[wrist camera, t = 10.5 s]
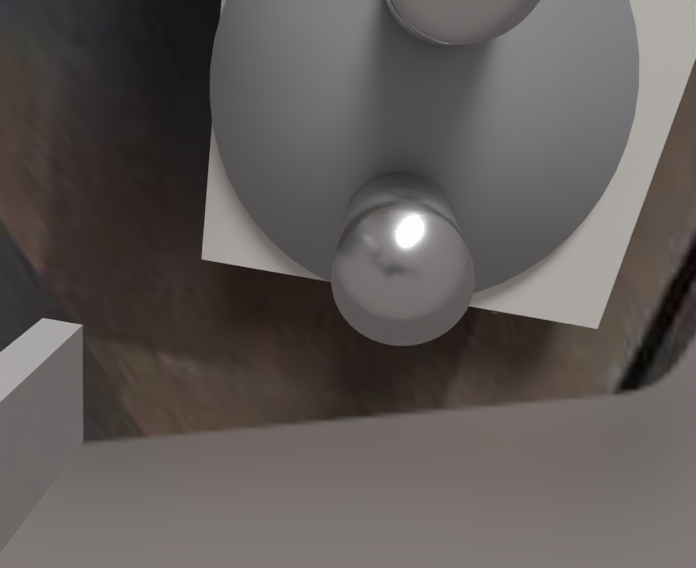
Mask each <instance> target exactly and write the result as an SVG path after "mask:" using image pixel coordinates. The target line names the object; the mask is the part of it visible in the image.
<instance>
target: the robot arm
mask: <svg viewBox="0 0 696 568" xmlns="http://www.w3.org/2000/svg"><path fill="white" fill-rule="evenodd" d="M82 443H83V325H80V324H74V323H68V322H62V321H56V320H50V319H45V318H42V319H41V320H40V321H39V322H37V323H36V324H35V325H34V326H33V327H31V328H30V329H29V330H28V331H26V332H25V333H24V334H23V335H21V336H20V337H19V338H18V339H16V340H15V341H14V342H13V343H11V344H10V345H9V346H8V347H6V348H5V349H4V350H3V351H2V352H0V552H1V551H2V549H3V548H4V547H5V545H6V544H7V543H8V541H9V540H10V539H11V537H12V536H13V535H14V533H15V532H16V531H17V529H18V528H19V527H20V525H21V524H22V523H23V521H24V520H25V519H26V517H27V516H28V515H29V513H30V512H31V511H32V509H33V508H34V507H35V505H36V504H37V503H38V501H39V500H40V499H41V497H42V496H43V495H44V493H45V492H46V491H47V489H48V488H49V487H50V485H51V484H52V483H53V481H54V480H55V479H56V477H57V476H58V475H59V473H60V472H61V471H62V469H63V468H64V467H65V466H66V464H67V463H68V462H69V460H70V459H71V458H72V456H73V455H74V454H75V452H76V451H77V449H78V448H79V447H80V446H81V444H82Z"/></svg>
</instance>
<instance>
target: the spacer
mask: <svg viewBox="0 0 696 568" xmlns="http://www.w3.org/2000/svg"><path fill="white" fill-rule="evenodd" d="M331 285H332V292H333V297H334V300H335V302H336V305H337V307H338V309H339V311H340V313H341V314H342V316H343V317H344V319H345V320H346V321H347V322H348V323H349V324H350V325H351V326H352V327H353V328H354V329H355V330H357V331H358V332H359V333H361V334H362V335H364V336H366V337H368V338H370V339H372V340H374V341H377V342H380V343H383V344H388V345H395V346H410V345H417V344H421V343H425V342H428V341H431V340H433V339H435V338H437V337H439V336H441V335H443V334H444V333H446V332H447V331H449V330H450V329H451V328H452V327H453V326H454V325H455V324H456V323H457V322H458V321H459V320H460V319H461V318H462V316H463V315H464V313H465V312H466V310H467V308H468V306H469V304H470V302H471V299H472V296H473V292H474V287H475V270H474V265H473V261H472V258H471V255H470V253H469V250H468V248H467V245H466V243H465V241H464V238H463V236H462V233H461V231H460V229H459V226H458V224H457V221H456V219H455V217H454V214H453V212H452V209H451V207H450V205H449V202H448V200H447V198H446V197H445V195H444V194H443V192H442V191H441V190H440V189H439V188H438V187H437V186H436V185H435V184H434V183H432V182H431V181H430V180H428V179H426V178H424V177H422V176H420V175H417V174H414V173H410V172H389V173H385V174H381V175H379V176H376V177H374V178H372V179H370V180H369V181H367V182H366V183H365V184H363V185H362V186H361V187H360V188H359V189H358V190H357V191H356V192H355V194H354V195H353V196H352V198H351V200H350V202H349V203H348V206H347V209H346V212H345V216H344V220H343V225H342V229H341V233H340V238H339V242H338V246H337V251H336V255H335V259H334V263H333V268H332V275H331Z"/></svg>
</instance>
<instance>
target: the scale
mask: <svg viewBox="0 0 696 568" xmlns="http://www.w3.org/2000/svg"><path fill="white" fill-rule="evenodd" d="M695 59H696V0H540V2H539V3H538V4H537V5H536V7H535V8H534V9H533V11H532V12H531V13H530V14H529V15H528V16H527V17H526V18H525V19H524V20H523V21H522V22H521V23H519V24H518V25H517V26H516V27H514V28H513V29H511V30H510V31H508V32H507V33H505V34H503V35H501V36H499V37H497V38H495V39H492V40H489V41H486V42H482V43H476V44H467V45H433V44H428V43H424V42H422V41H420V40H417V39H415V38H414V37H412V36H410V35H409V34H408V33H406V32H405V31H404V30H403V29H402V28H401V27H400V26H399V25H398V24H397V22H396V21H395V20H394V18H393V17H392V15H391V13H390V11H389V9H388V6H387V4H386V1H385V0H222V1H221V14H220V20H219V24H218V28H217V31H216V35H215V39H214V45H213V52H212V59H211V66H210V105H211V114H212V130H211V143H210V156H209V169H208V182H207V195H206V208H205V221H204V234H203V247H202V259H203V260H209V261H214V262H220V263H226V264H231V265H237V266H243V267H249V268H254V269H260V270H266V271H271V272H277V273H283V274H288V275H294V276H300V277H306V278H311V279H317V280H323V281H328V282H330V283H331V275H332V268H333V263H334V259H335V255H336V251H337V246H338V242H339V238H340V233H341V229H342V225H343V220H344V216H345V212H346V209H347V206H348V203H349V202H350V200H351V198H352V196H353V195H354V194H355V192H356V191H357V190H358V189H359V188H360V187H361V186H362V185H363V184H365V183H366V182H367V181H369V180H370V179H372V178H374V177H376V176H379V175H381V174H385V173H389V172H410V173H414V174H417V175H420V176H422V177H424V178H426V179H428V180H430V181H431V182H432V183H434V184H435V185H436V186H437V187H438V188H439V189H440V190H441V191H442V192H443V194H444V195H445V197H446V198H447V200H448V202H449V205H450V207H451V209H452V212H453V214H454V217H455V219H456V221H457V224H458V226H459V229H460V231H461V233H462V236H463V238H464V241H465V243H466V245H467V248H468V250H469V253H470V255H471V258H472V261H473V265H474V270H475V287H474V292H473V296H472V299H471V302H470V304H469V306H471V307H476V308H479V309H483V310H486V311H490V312H491V313H493V314H497V313H501V314H516V315H522V316H528V317H533V318H539V319H545V320H550V321H556V322H562V323H568V324H573V325H579V326H585V327H590V328H596V329H598V326H599V323H600V320H601V318H602V315H603V312H604V309H605V307H606V304H607V301H608V298H609V296H610V293H611V290H612V287H613V285H614V282H615V279H616V276H617V274H618V271H619V268H620V265H621V263H622V260H623V257H624V254H625V252H626V249H627V246H628V243H629V241H630V238H631V235H632V232H633V230H634V227H635V224H636V221H637V219H638V216H639V213H640V210H641V208H642V205H643V202H644V199H645V196H646V194H647V191H648V188H649V185H650V183H651V180H652V177H653V174H654V172H655V169H656V166H657V163H658V161H659V158H660V155H661V152H662V150H663V147H664V144H665V141H666V139H667V136H668V133H669V130H670V128H671V125H672V122H673V119H674V117H675V114H676V111H677V108H678V106H679V103H680V100H681V97H682V95H683V92H684V89H685V86H686V84H687V81H688V78H689V75H690V72H691V70H692V67H693V64H694V61H695Z"/></svg>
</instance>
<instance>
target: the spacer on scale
mask: <svg viewBox="0 0 696 568" xmlns="http://www.w3.org/2000/svg"><path fill="white" fill-rule="evenodd" d="M385 1H386V4H387V6H388V9H389V11H390V13H391V15H392V17H393V18H394V20H395V21H396V22H397V24H398V25H399V26H400V27H401V28H402V29H403V30H404V31H405V32H406V33H408V34H409V35H410V36H412V37H414V38H415V39H417V40H420V41H422V42H424V43H428V44H433V45H467V44H476V43H482V42H486V41H489V40H492V39H495V38H497V37H499V36H501V35H503V34H505V33H507V32H508V31H510V30H511V29H513V28H514V27H516V26H517V25H518V24H519V23H521V22H522V21H523V20H524V19H525V18H526V17H527V16H528V15H529V14H530V13H531V12H532V11H533V9H534V8H535V7H536V5H537V4H538V3H539V2H540V0H385Z"/></svg>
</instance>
